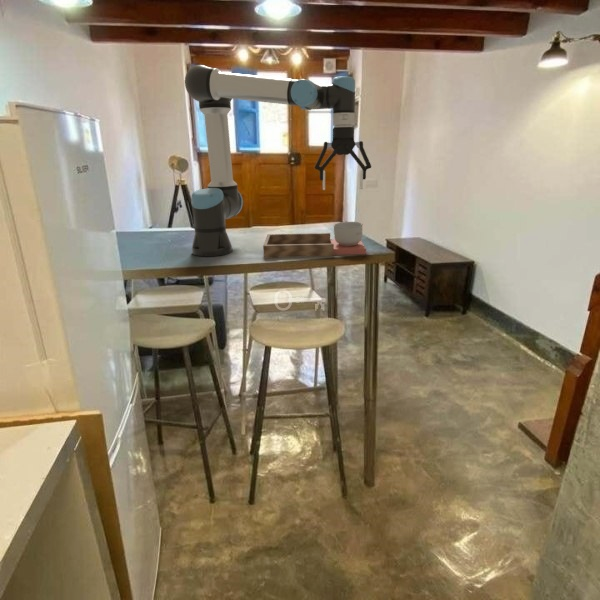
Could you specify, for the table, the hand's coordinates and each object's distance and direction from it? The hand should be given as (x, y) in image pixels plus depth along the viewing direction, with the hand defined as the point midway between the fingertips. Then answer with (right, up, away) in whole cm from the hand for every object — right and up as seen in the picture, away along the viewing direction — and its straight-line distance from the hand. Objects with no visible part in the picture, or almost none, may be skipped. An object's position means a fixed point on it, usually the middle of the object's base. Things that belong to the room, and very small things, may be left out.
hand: (342, 189), depth 154 cm
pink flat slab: (-3, -21, +8) cm, 23 cm away
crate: (-16, -22, +8) cm, 28 cm away
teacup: (+3, -19, +7) cm, 21 cm away
